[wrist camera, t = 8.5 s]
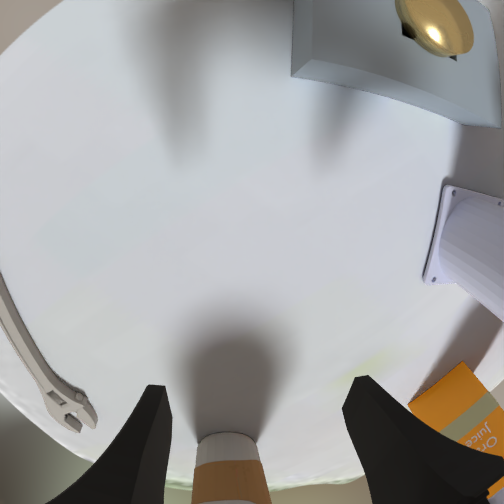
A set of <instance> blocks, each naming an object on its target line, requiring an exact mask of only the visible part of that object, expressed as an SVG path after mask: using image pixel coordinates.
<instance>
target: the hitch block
mask: <svg viewBox="0 0 504 504" xmlns="http://www.w3.org/2000/svg"><path fill="white" fill-rule="evenodd" d="M458 2H459V3H460V4H461V5H462V7H463V8H464V10H465V12H466V13H467V15H468V17H469V20H470V22H471V25H472V28H473V33H474V43H473V46H472V49H471V50H470V51H469V52H467V53H464V54H459V55H454V56H450V57H438V56H435V55H433V54H431V53H429V52H427V51H426V50H425V49H423V48H422V47H421V46H420V45H418V44H417V43H416V42H415V41H414V40H412V39H410V38H408V37H405V36H403V35H402V28H401V21H400V19H399V17H398V15H397V12H396V8H395V0H294V14H293V42H292V64H291V77H295V78H302V79H309V80H315V81H321V82H326V83H331V84H336V85H341V86H346V87H350V88H355V89H359V90H363V91H367V92H371V93H375V94H378V95H382V96H385V97H389V98H392V99H395V100H399V101H402V102H405V103H408V104H411V105H414V106H417V107H420V108H423V109H425V110H428V111H431V112H434V113H436V114H439V115H441V116H444V117H446V118H449V119H451V120H453V121H456V122H458V123H460V124H463V125H469V126H481V127H491V128H500V129H501V123H502V108H501V84H500V72H499V62H498V55H497V48H496V41H495V36H494V31H493V26H492V21H491V17H490V12H489V9H487V8H486V7H485V6H483V5H482V4H481V3H480V2H478V1H477V0H458Z"/></svg>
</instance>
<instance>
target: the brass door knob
mask: <svg viewBox="0 0 504 504" xmlns="http://www.w3.org/2000/svg"><path fill="white" fill-rule="evenodd" d="M395 8H396V12H397V15H398V17H399V19H400V21H401V28H402V35H403V36H405V37H408V38H410V39H412V40H414V41H415V42H416V43H417V44H418V45H420V46H421V47H422V48H423V49H425V50H426V51H427V52H429V53H431V54H433V55H435V56H438V57H450V56H454V55H459V54H464V53H467V52H469V51H470V50H471V49H472V46H473V43H474V33H473V28H472V25H471V22H470V20H469V17H468V15H467V13H466V12H465V10H464V8H463V7H462V5H461V4H460V3H459V2H458V0H395Z"/></svg>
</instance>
